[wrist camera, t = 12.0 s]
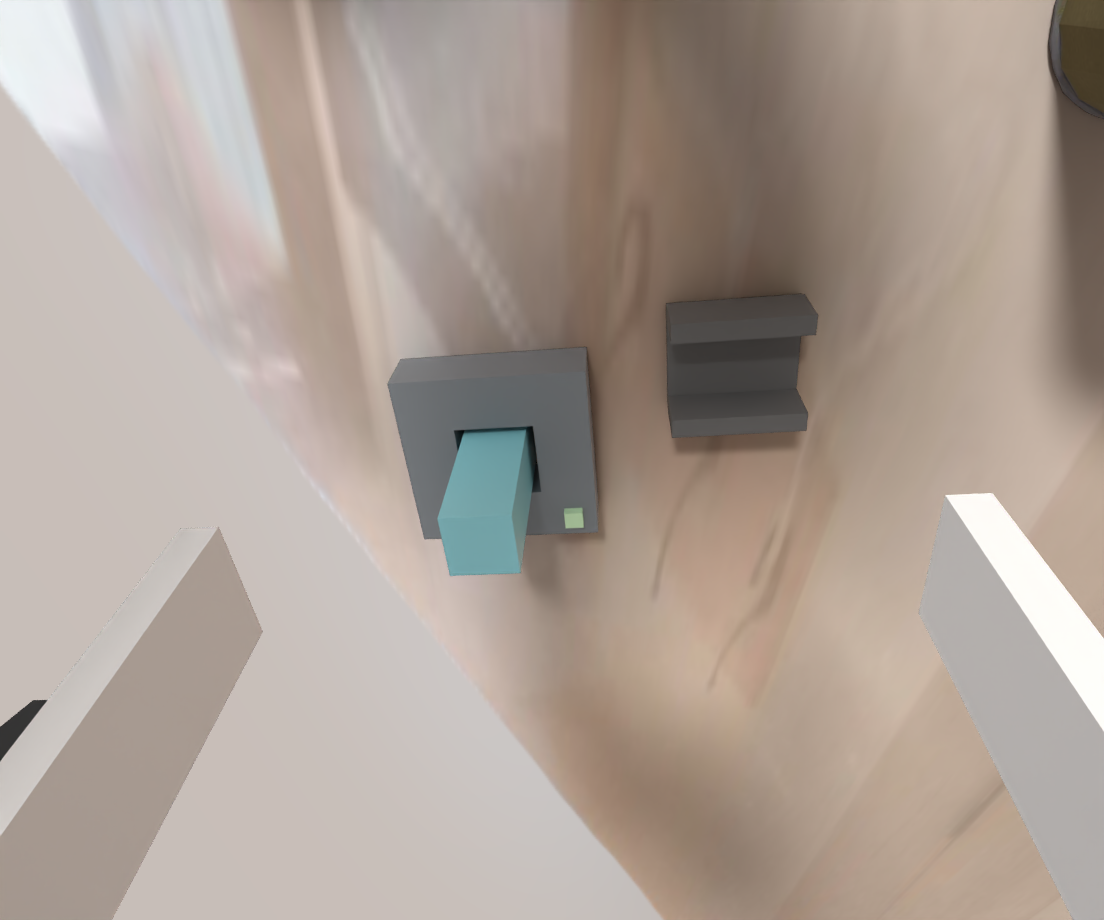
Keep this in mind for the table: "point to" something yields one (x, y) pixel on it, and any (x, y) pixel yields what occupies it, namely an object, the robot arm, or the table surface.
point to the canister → (1079, 52)
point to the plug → (488, 501)
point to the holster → (736, 365)
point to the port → (499, 402)
